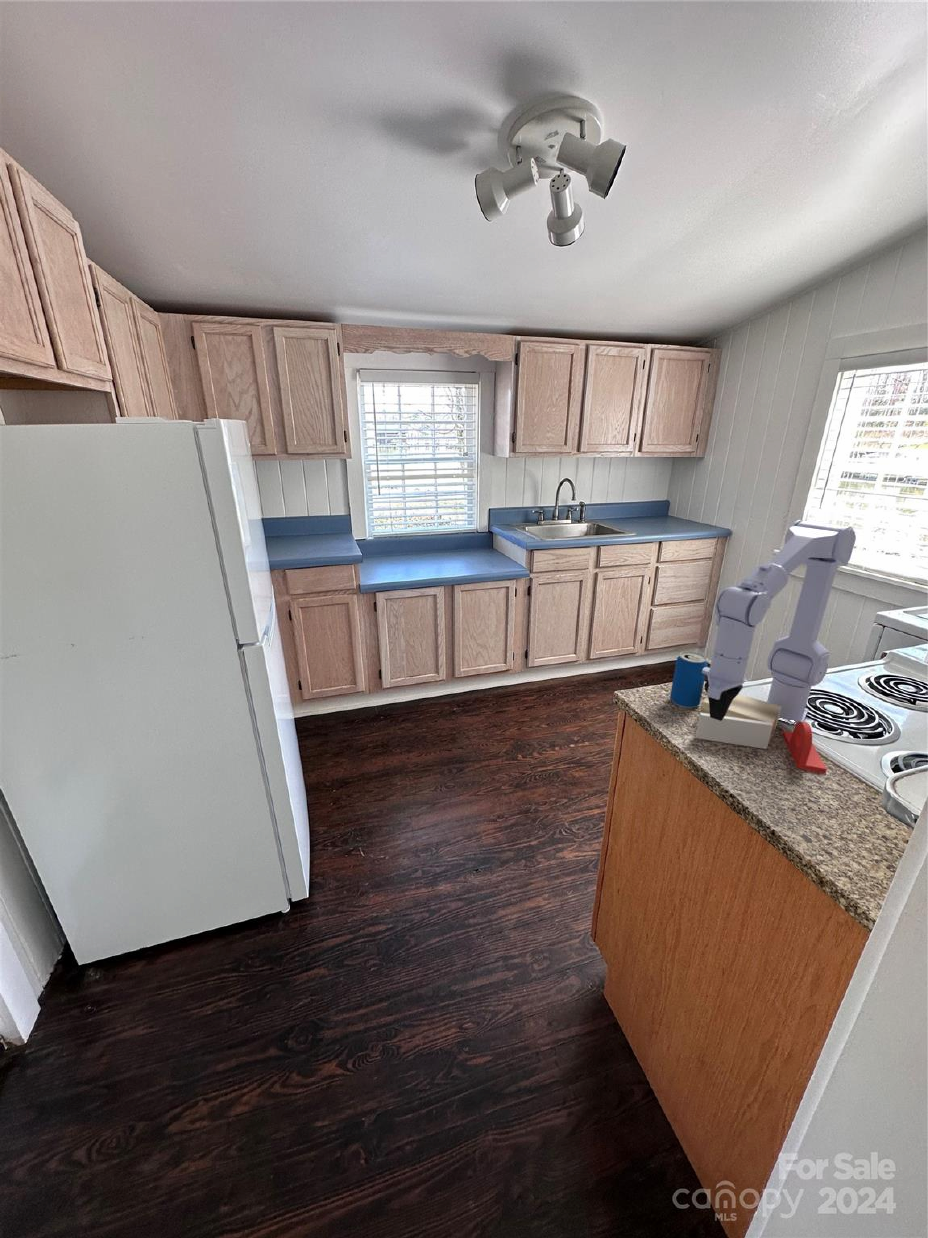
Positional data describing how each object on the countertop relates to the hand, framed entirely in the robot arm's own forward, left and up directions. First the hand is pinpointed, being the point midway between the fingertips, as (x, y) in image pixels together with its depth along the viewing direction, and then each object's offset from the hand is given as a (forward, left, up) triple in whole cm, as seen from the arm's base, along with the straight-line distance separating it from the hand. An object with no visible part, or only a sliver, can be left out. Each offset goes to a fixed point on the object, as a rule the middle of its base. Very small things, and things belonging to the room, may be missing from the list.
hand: (716, 717), depth 94 cm
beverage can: (-18, -10, -9) cm, 22 cm away
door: (-7, +2, -8) cm, 11 cm away
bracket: (-13, +14, -9) cm, 21 cm away
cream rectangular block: (-15, +1, -8) cm, 17 cm away
